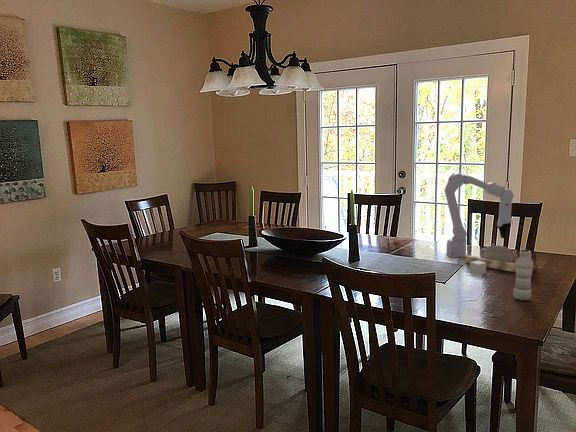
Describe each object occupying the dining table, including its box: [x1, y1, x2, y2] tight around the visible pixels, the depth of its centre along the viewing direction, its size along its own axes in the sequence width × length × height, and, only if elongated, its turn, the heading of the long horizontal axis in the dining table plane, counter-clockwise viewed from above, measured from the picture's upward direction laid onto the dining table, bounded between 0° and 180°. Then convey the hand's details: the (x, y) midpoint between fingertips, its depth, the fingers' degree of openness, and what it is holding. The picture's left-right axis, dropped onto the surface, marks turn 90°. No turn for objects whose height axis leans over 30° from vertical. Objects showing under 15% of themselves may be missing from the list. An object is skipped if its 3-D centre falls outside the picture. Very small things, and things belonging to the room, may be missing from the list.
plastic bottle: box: [512, 249, 535, 301], centre depth 188 cm, size 6×7×20 cm
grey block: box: [469, 261, 487, 276], centre depth 225 cm, size 5×5×5 cm
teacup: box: [479, 245, 511, 262], centre depth 239 cm, size 14×11×8 cm
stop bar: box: [461, 254, 516, 273], centre depth 234 cm, size 26×2×4 cm, turn 46°
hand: (503, 237), depth 248 cm, fingers closed
